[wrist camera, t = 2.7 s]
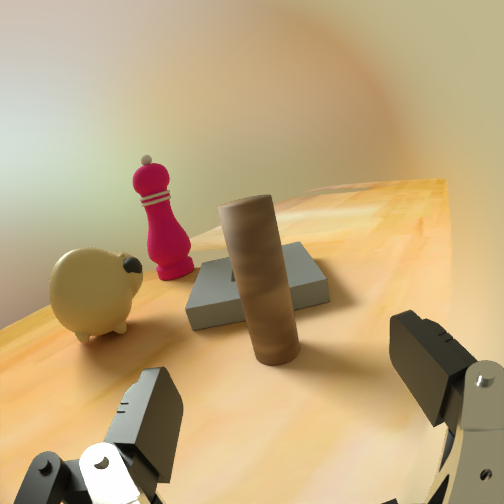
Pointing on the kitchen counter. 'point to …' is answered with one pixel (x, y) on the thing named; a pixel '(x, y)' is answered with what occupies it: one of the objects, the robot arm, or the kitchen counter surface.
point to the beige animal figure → (94, 291)
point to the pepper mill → (162, 222)
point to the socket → (227, 296)
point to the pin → (261, 277)
